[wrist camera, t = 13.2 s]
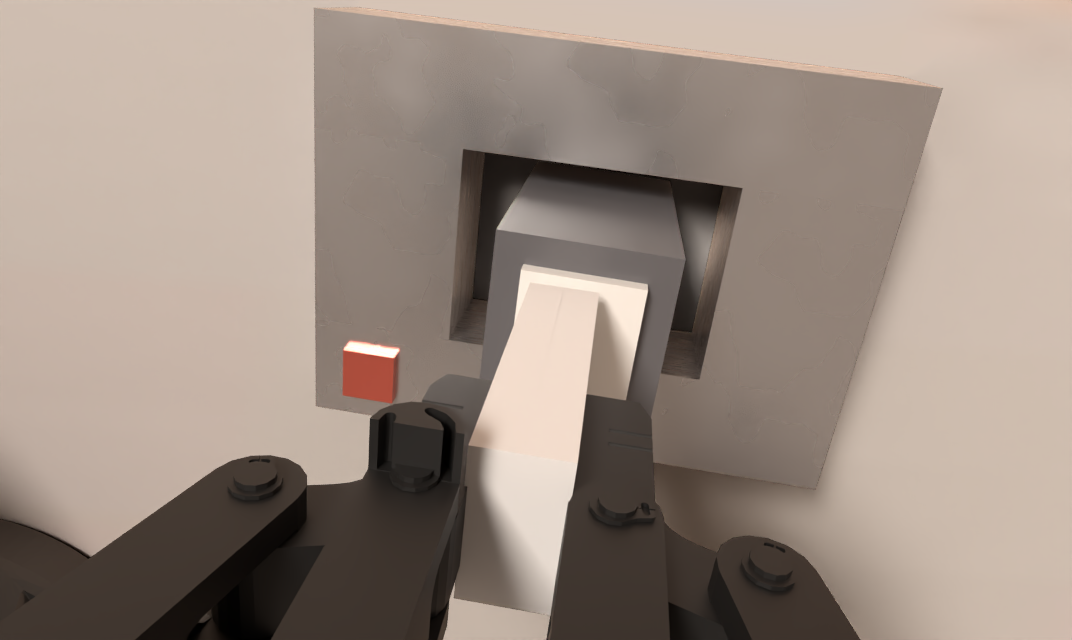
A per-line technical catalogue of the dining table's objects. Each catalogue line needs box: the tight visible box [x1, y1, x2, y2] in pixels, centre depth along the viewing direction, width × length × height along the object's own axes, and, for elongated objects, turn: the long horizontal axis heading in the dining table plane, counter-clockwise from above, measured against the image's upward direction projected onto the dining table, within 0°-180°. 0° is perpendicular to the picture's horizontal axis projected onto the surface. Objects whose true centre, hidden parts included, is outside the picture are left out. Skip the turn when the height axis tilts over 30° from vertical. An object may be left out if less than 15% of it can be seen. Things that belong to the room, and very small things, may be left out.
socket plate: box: [314, 7, 943, 490], centre depth 23 cm, size 12×16×4 cm
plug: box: [479, 160, 686, 417], centre depth 21 cm, size 4×4×8 cm
